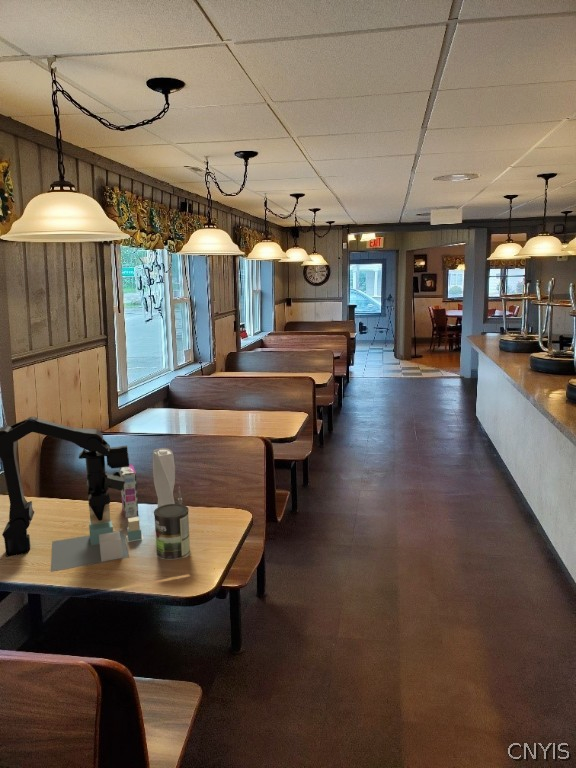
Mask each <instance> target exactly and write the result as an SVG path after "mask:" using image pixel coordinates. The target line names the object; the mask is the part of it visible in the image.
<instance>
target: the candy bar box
mask: <svg viewBox="0 0 576 768" xmlns="http://www.w3.org/2000/svg"><path fill="white" fill-rule="evenodd" d="M119 472H120V477H121V476H123V477H124V478H125V484H124V487H123V490H122V491H120V492H121V493H120V494H121V507H122V512H123V515H124V519H128V518H133V517H139V504H138V503H139V502H138V487H137V486H138V485H137V472H136V469H135V467H134V464H129V467H123V468H119Z"/></svg>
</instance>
